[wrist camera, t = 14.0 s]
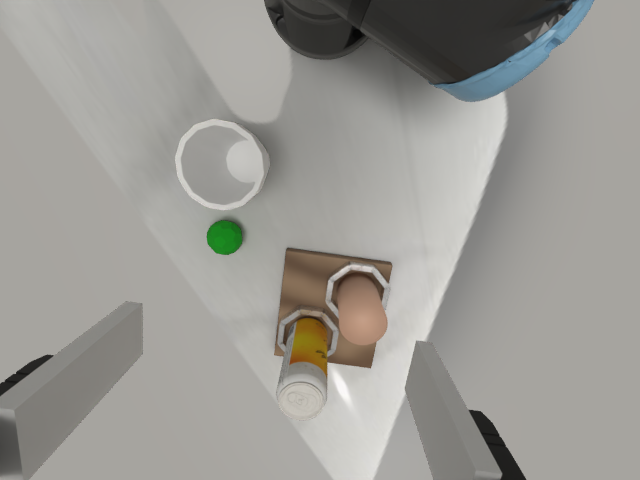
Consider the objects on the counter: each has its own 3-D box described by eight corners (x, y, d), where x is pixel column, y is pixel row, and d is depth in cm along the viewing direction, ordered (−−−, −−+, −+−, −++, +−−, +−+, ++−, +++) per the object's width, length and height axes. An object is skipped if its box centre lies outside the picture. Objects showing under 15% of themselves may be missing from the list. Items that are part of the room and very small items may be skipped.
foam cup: (269, 119, 46) (247, 108, 33) (289, 184, 48) (275, 196, 36) (206, 138, 47) (161, 134, 34) (228, 201, 49) (193, 219, 37)
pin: (340, 269, 50) (343, 298, 40) (379, 275, 50) (391, 305, 40) (334, 305, 52) (335, 341, 42) (372, 310, 52) (382, 348, 42)
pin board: (287, 248, 51) (286, 250, 49) (390, 262, 51) (392, 265, 50) (275, 349, 56) (274, 355, 54) (369, 362, 56) (371, 368, 54)
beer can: (318, 354, 54) (315, 430, 40) (283, 340, 53) (267, 413, 39) (333, 323, 52) (335, 391, 38) (297, 309, 52) (286, 372, 37)
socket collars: (288, 252, 49) (287, 255, 48) (392, 266, 50) (393, 270, 48) (276, 353, 54) (275, 358, 53) (371, 366, 54) (372, 372, 53)
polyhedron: (247, 248, 51) (239, 258, 46) (215, 249, 51) (204, 259, 47) (243, 216, 50) (235, 223, 45) (211, 218, 50) (199, 224, 45)
